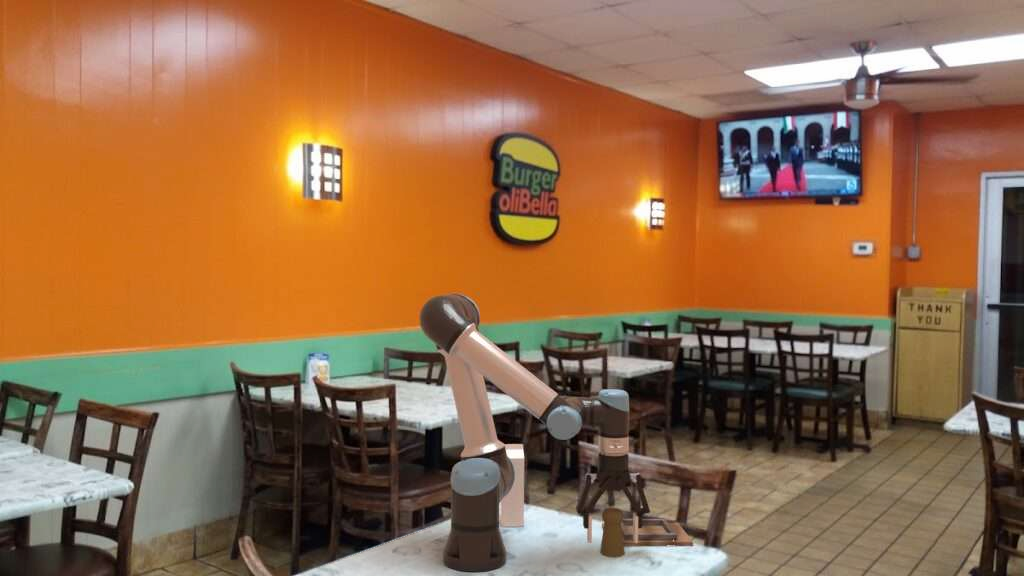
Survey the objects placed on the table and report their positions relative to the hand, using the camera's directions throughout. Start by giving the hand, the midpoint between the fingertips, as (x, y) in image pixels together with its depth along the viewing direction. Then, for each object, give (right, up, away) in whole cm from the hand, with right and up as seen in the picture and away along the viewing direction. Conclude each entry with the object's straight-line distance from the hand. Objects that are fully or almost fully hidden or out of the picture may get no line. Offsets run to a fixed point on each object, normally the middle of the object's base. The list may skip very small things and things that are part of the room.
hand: (612, 541), depth 203 cm
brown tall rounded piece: (0, -3, 0) cm, 3 cm away
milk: (-25, -3, +23) cm, 34 cm away
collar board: (+11, -3, +13) cm, 17 cm away
